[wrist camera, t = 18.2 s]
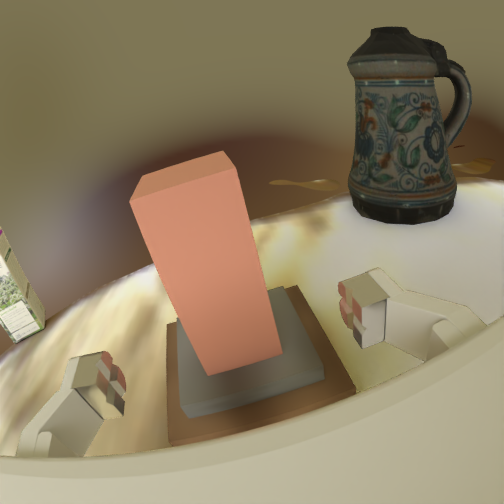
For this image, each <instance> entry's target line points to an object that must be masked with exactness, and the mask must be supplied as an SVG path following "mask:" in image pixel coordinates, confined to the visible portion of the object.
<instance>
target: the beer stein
mask: <svg viewBox="0 0 504 504" xmlns="http://www.w3.org/2000/svg"><path fill="white" fill-rule="evenodd" d="M347 66H348V68H349V71H350V73H351V75H352V76H353V77H354V80H355V97H356V98H355V103H356V133H355V149H354V156H353V163H352V168H351V171H350V174H349V178H348V187H349V190H350V193H351V196H352V201H353V206H354V207H355V209H356V210H357V211H358V212H359V213H360V215H361V216H363V217H366V218H370V219H374V220H377V221H381V222H384V223H390V224H410V225H415V224H420V223H425V222H430V221H436V220H438V219H440V218H442V217H444V216H445V215H447V214H449V212H450V210H451V209H452V207H453V205H454V198H455V194H456V191H457V182H456V179H455V177H454V175H453V172H452V168H451V164H450V160H449V155H448V150H447V148H448V147H449V146H450V145H451V144H452V143H453V141H454V140H455V139H456V137H457V136H458V134H459V133H460V132H461V130H462V128H463V126H464V125H465V122H466V120H467V118H468V115H469V113H470V109H471V104H472V103H471V102H472V91H471V86H470V83H469V81H468V78H467V77H466V75H465V70H464V69H463V67H462V66H460V65H459V64H457V63H456V62H454V61H452V60H448V59H447V54H446V50H445V49H444V46H442V45H441V44H439V43H438V42H434V41H432V40H429V39H428V40H427V39H422V38H418V37H416V36H414V35H412V34H410V32H409V31H408V30H407V28H405V27H380V28H374V29H371V36H370V37H369V38H368V39H367V40H366V42H365V43H364V44H363V45H361V47H359V48H358V49H357V50H356V51H355V52H354V53H353V54H352V56H351V57H350V59H349V61H348V63H347ZM434 77H447V78H449V79H450V80H451V81H452V83H453V86H454V89H455V99H454V103H453V107H452V109H451V111H450V113H449V115H448V116H447V118H446V120H445V121H444V122H443V119H442V115H441V109H440V106H439V101H438V97H437V93H436V89H435V85H434Z"/></svg>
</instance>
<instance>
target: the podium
mask: <svg viewBox="0 0 504 504" xmlns="http://www.w3.org/2000/svg"><path fill="white" fill-rule="evenodd" d="M267 292H268V296H269V300H270V304H271V308H272V312H273V316H274V320H275V324H276V328H277V332H278V336H279V340H280V344H281V348H282V352H283V354H281V355H278V356H275V357H272V358H268V359H265V360H262V361H259V362H256V363H252V364H249V365H246V366H242V367H239V368H235V369H232V370H228V371H225V372H221V373H217V374H214V375H210V376H208V375H207V374H206V372H205V370H204V368H203V366H202V364H201V362H200V360H199V358H198V356H197V354H196V352H195V350H194V348H193V346H192V344H191V342H190V340H189V338H188V336H187V334H186V332H185V330H184V328H183V326H182V324H181V322H180V320H179V317H178V318H177V322H173V323H170V324H167V349H166V369H167V416H168V438H169V443H170V444H171V445H172V446H173V447H176V446H182V445H187V444H192V443H197V442H202V441H207V440H212V439H216V438H221V437H225V436H229V435H233V434H237V433H241V432H245V431H249V430H253V429H256V428H260V427H263V426H267V425H270V424H274V423H277V422H280V421H284V420H287V419H290V418H293V417H296V416H299V415H302V414H305V413H308V412H311V411H314V410H316V409H319V408H322V407H325V406H327V405H330V404H333V403H335V402H338V401H341V400H343V399H346V398H348V397H351V396H353V395H356V387H355V385H354V384H353V382H352V380H351V378H350V376H349V375H348V373H347V371H346V369H345V368H344V366H343V364H342V362H341V360H340V359H339V357H338V355H337V353H336V352H335V350H334V348H333V346H332V345H331V343H330V341H329V339H328V338H327V336H326V334H325V332H324V331H323V329H322V327H321V325H320V324H319V322H318V320H317V318H316V317H315V315H314V313H313V312H312V310H311V308H310V306H309V305H308V303H307V301H306V299H305V298H304V296H303V294H302V293H301V291H300V289H299V287H298V286H297V285H296V286H293V287H290V288H287V289H284V287H283V286H281V287H278V288H274V289H271V290H268V291H267Z"/></svg>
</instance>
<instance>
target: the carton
mask: <svg viewBox="0 0 504 504" xmlns="http://www.w3.org/2000/svg"><path fill="white" fill-rule="evenodd" d="M130 204H131V207H132V210H133V212H134V215H135V218H136V220H137V223H138V225H139V228H140V230H141V233H142V235H143V237H144V240H145V243H146V245H147V247H148V250H149V252H150V255H151V257H152V259H153V262H154V264H155V266H156V269H157V271H158V273H159V276H160V278H161V280H162V283H163V285H164V287H165V289H166V291H167V294H168V296H169V298H170V300H171V302H172V305H173V307H174V309H175V311H176V313H177V315H178V317H179V320H180V322H181V324H182V326H183V328H184V330H185V332H186V334H187V336H188V338H189V340H190V342H191V344H192V346H193V348H194V350H195V352H196V354H197V356H198V358H199V360H200V362H201V364H202V366H203V368H204V370H205V372H206V374H207V375H208V376H210V375H214V374H217V373H221V372H225V371H228V370H232V369H235V368H239V367H242V366H246V365H249V364H252V363H256V362H259V361H262V360H265V359H268V358H272V357H275V356H278V355H281V354H283V352H282V348H281V344H280V340H279V336H278V332H277V328H276V324H275V320H274V316H273V312H272V308H271V304H270V300H269V296H268V292H267V288H266V284H265V280H264V276H263V272H262V268H261V265H260V261H259V257H258V253H257V249H256V245H255V241H254V237H253V233H252V229H251V225H250V221H249V217H248V213H247V210H246V206H245V202H244V198H243V194H242V190H241V186H240V182H239V178H238V175H237V171H236V167H235V166H234V165H233V163H232V162H231V161H230V159H229V158H228V157H227V156H226V154H225V153H224V151H220V152H217V153H213V154H210V155H207V156H203V157H200V158H197V159H193V160H190V161H187V162H184V163H180V164H177V165H174V166H171V167H168V168H165V169H162V170H159V171H156V172H153V173H150V174H147V175H144V176H142V178H141V180H140V182H139V184H138V186H137V187H136V189H135V191H134V193H133V195H132V197H131V199H130Z"/></svg>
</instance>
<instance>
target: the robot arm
mask: <svg viewBox="0 0 504 504" xmlns="http://www.w3.org/2000/svg"><path fill="white" fill-rule="evenodd" d="M338 292H339V294H340V295H341V296H342V299H341V301H340V311H341V314H342V318H343V320H344V322H345V324H346V325H347V327H348V328H350V329H352V330H353V334H354V338H355V339H356V341H357V342H358V344H359V345H360V347H361V348H362V349H364V348H366V347H369V346H372V345H374V344H377V343H379V342H382V341H384V340H385V342H387V343H389V344H391V345H393V346H395V347H397V348H399V349H401V350H403V351H405V352H407V353H409V354H411V355H413V356H415V357H417V358H419V359H421V360H423V361H425V362H424V363H423V364H421V365H419V366H417V367H415V368H413V369H411V370H409V371H407V372H405V373H403V374H400V375H398V376H396V377H394V378H392V379H390V380H388V381H386V382H383V383H381V384H379V385H377V386H374V387H372V388H370V389H367V390H365V391H363V392H360V393H358V394H356V395H353V396H351V397H348V398H346V399H343V400H341V401H338V402H335V403H333V404H330V405H327V406H325V407H322V408H319V409H316V410H314V411H311V412H308V413H305V414H302V415H299V416H296V417H293V418H290V419H287V420H284V421H280V422H277V423H274V424H270V425H267V426H263V427H260V428H256V429H253V430H249V431H245V432H241V433H237V434H233V435H229V436H225V437H221V438H216V439H212V440H207V441H202V442H197V443H192V444H187V445H182V446H176V447H170V448H164V449H157V450H150V451H143V452H135V453H126V454H116V455H104V456H88V457H83V456H84V455H85V453H86V451H87V449H88V448H89V446H90V444H91V442H92V441H93V439H94V437H95V435H96V434H97V432H98V430H99V429H100V427H101V425H102V423H103V422H104V420H106V419H112V418H117V417H123V415H124V404H125V401H124V400H123V399H122V396H123V395H124V393H125V392H126V382H125V377H124V375H123V373H122V371H121V369H120V368H119V367H118V366H116V365H114V364H112V360H113V358H112V357H111V356H110V354H109V353H108V352H106V351H102V352H97V353H92V354H87V355H82V356H78V357H73V358H71V359H69V361H68V364H67V367H66V370H65V374H64V377H63V381H62V384H61V388H60V391H56V393H55V394H54V395H53V396H52V397H51V398H50V399H49V401H48V402H47V403H46V404H45V405H44V406H43V407H42V409H41V410H40V411H39V412H38V413H37V414H36V415H35V417H34V418H33V419H32V420H31V421H30V422H29V424H28V425H27V426H26V427H25V428H24V429H23V431H22V432H21V436H20V440H19V444H18V448H17V452H16V456H1V455H0V504H504V315H503V316H501V317H500V318H499V319H497V320H496V321H494V322H493V323H491V324H490V325H488V326H487V325H486V324H485V323H484V322H483V321H482V320H481V319H480V318H478V317H477V316H476V315H475V314H474V313H473V312H472V311H471V310H470V309H469V308H468V307H467V306H464V305H460V304H456V303H453V302H449V301H445V300H442V299H438V298H435V297H431V296H427V295H424V294H420V293H416V292H413V291H409V290H407V291H403V290H402V289H401V288H400V287H399V286H398V285H397V284H396V283H395V282H394V281H393V280H392V279H391V278H390V277H389V276H388V275H387V274H386V273H385V272H384V271H383V270H382V269H381V268H378V267H377V268H375V269H372V270H370V271H367V272H365V273H363V274H360V275H358V276H355V277H352V278H349V279H347V280H344V281H341V282H339V284H338Z"/></svg>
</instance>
